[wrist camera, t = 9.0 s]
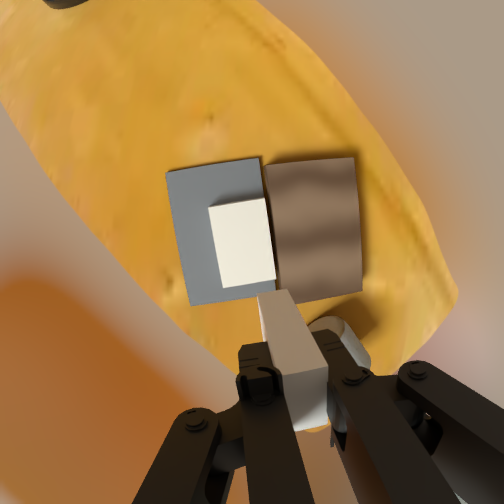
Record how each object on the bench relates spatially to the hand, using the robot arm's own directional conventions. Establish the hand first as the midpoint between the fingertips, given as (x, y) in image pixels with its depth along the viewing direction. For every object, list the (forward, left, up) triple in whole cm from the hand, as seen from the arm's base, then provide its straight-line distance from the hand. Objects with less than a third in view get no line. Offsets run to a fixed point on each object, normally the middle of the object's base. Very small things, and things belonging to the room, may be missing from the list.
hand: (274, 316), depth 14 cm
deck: (0, +8, -20) cm, 22 cm away
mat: (-1, -3, -20) cm, 21 cm away
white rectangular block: (0, -1, -20) cm, 20 cm away
